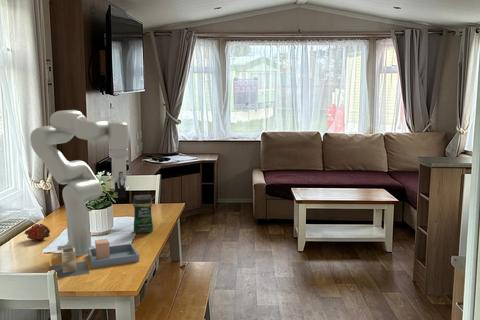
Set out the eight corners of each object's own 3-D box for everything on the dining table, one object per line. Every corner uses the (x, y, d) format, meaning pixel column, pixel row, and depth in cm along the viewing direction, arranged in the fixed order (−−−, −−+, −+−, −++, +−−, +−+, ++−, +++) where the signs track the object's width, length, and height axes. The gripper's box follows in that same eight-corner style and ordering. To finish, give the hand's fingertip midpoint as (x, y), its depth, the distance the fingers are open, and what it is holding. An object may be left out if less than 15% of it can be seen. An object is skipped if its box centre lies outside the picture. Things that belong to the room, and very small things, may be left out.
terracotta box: (97, 262, 201) (96, 243, 199) (96, 258, 205) (95, 240, 204) (110, 260, 202) (109, 242, 201) (108, 256, 207) (107, 238, 206)
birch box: (63, 272, 190) (61, 252, 189) (62, 268, 194) (61, 248, 193) (76, 270, 192) (75, 251, 191) (75, 266, 196) (74, 247, 195)
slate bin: (92, 269, 195) (92, 261, 194) (88, 256, 209) (88, 249, 208) (139, 262, 202) (138, 254, 201) (132, 250, 216) (131, 243, 216)
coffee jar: (134, 234, 239) (132, 197, 236) (133, 229, 247) (131, 193, 244) (154, 232, 242) (152, 196, 238) (152, 228, 249) (151, 192, 246)
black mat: (51, 281, 184) (51, 279, 184) (50, 268, 197) (49, 266, 197) (89, 275, 190) (89, 273, 189) (86, 262, 202) (85, 261, 202)
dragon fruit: (52, 243, 231) (27, 247, 232) (55, 229, 237) (31, 232, 238) (44, 233, 225) (19, 237, 226) (48, 218, 231) (23, 222, 231)
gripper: (107, 150, 200) (108, 190, 203) (111, 157, 184) (113, 200, 187) (125, 149, 203) (126, 189, 206) (131, 156, 187) (132, 199, 190)
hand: (120, 194), depth 197 cm, fingers open, 9 cm apart
